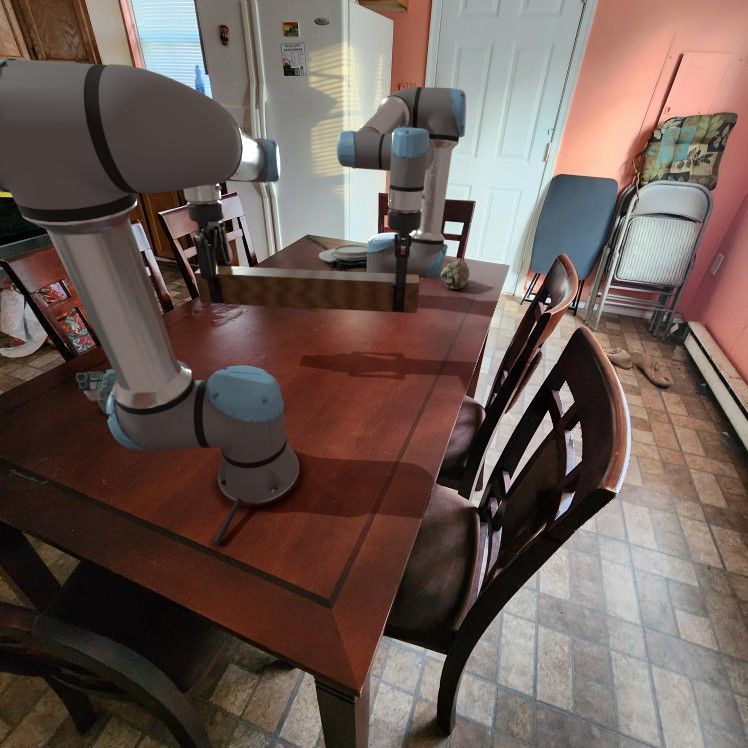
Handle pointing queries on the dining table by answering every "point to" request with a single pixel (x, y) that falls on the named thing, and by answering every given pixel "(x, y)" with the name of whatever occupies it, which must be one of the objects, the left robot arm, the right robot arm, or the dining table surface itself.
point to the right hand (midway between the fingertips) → (397, 305)
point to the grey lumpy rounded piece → (455, 274)
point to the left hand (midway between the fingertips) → (221, 297)
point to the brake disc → (346, 257)
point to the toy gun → (97, 385)
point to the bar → (309, 289)
